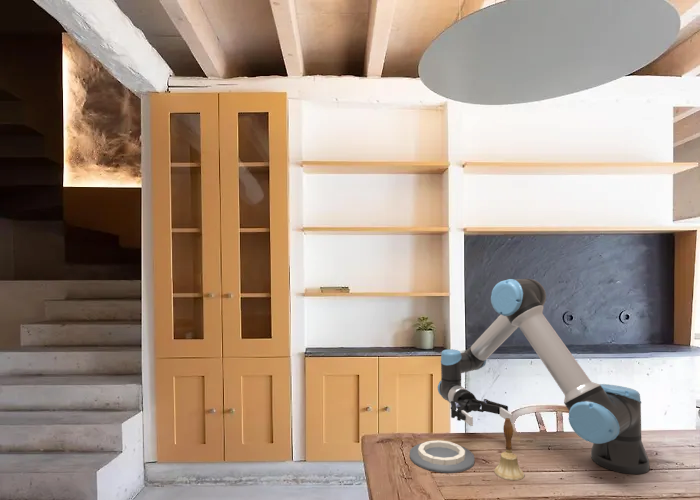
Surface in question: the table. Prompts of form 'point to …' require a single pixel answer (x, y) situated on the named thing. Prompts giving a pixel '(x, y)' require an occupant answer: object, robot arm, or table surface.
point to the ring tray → (442, 457)
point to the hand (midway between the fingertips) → (491, 420)
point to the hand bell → (508, 458)
